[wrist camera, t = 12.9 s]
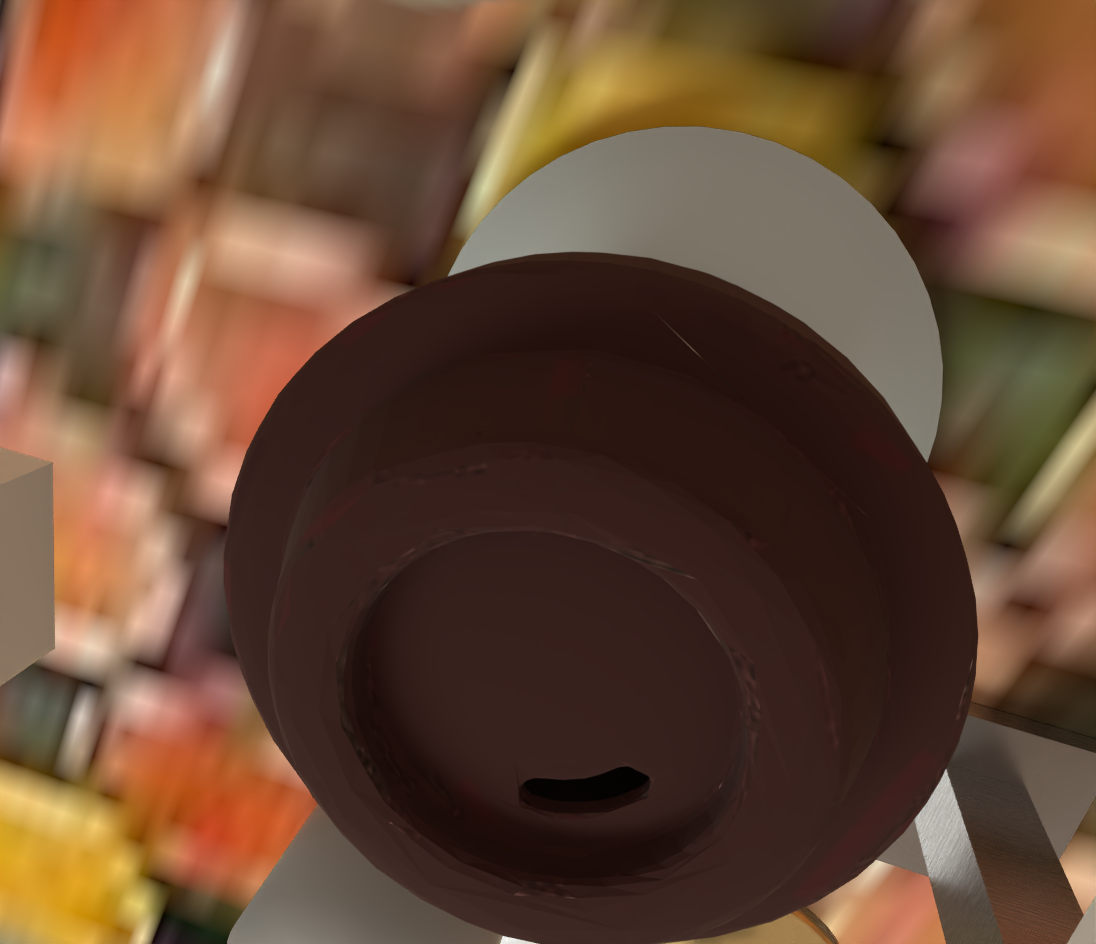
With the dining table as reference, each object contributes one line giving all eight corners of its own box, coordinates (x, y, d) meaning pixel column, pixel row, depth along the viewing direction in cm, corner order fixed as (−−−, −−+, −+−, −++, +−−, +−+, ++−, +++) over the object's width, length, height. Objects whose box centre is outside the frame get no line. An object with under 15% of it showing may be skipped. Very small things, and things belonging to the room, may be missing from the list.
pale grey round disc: (410, 536, 28) (396, 551, 27) (483, 78, 23) (470, 73, 22) (834, 662, 26) (838, 684, 25) (1019, 194, 21) (1035, 195, 20)
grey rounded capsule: (352, 818, 33) (217, 1037, 24) (375, 668, 30) (234, 857, 22) (525, 877, 32) (446, 1127, 23) (564, 729, 29) (491, 950, 21)
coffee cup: (536, 165, 22) (181, 151, 8) (914, 276, 21) (1236, 474, 7) (455, 499, 26) (116, 878, 12) (771, 609, 25) (802, 1164, 11)
